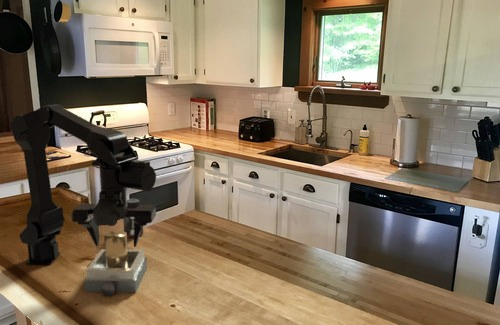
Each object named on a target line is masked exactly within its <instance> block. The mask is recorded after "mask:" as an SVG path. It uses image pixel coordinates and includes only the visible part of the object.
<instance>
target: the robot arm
mask: <svg viewBox="0 0 500 325" xmlns="http://www.w3.org/2000/svg"><path fill="white" fill-rule="evenodd" d="M53 127H56V128H58V129H60V130H62V131H63V132H65V133H67V134H69V135H70V136H73V137H75V138H76V139H78V140H80V141H82V142H83V143H85V144H86V146H87V148H88V150H89V151H90V152H91V153H92V154H94V155H95V156H96V159H94V160H93V161H92V162H91V166H93V167H98V168H99V183H100V184H99V185H100V191H99V192H98V200H97V201H98V202H97V203H80V204H79V205H77V206H76V207H75V208H74V209H73V210H72V211H71V213H70V214H71V215H70V216H71V222H73V223H77V224H78V225H79V226H83V227H84V228H85V229H86V230H87V232H88V233H89V235H90V237H91V239H92V241H93V243H94V245H95V247H99V245H100V228H99V227H100V226H108V227H114V226H115V225H117V223H118V221H120V220H124V219H125V217H134V220H135V223H134V224H133V225H134V237H133V247H135V248H136V247H137V245H138V242H139V239H140V233H141V230H142V228H143V229H144V227H145V226H147V225H148V224H151V223H153V221H154V219H155V217H156V215H157V208H156V206H155V204H139V206H138V207H137V209H127V206H128V202H127V200H128V199H127V190H128V189H130V190H131V189H132V190H138V191H145V192H149V191H151V190H152V189H153V188H154V186H155V184H156V181H157V174H156V171H155V169H154V167H152V166H151V162H150V160H139V156H138V155H137V154H136V152H135V150H134V148H133V147H132V145H131V144H130V142H129V141H128V137H127V135H126V134H125V133H124V132H122V131H120V130H117V129H113V128H110V127H101V126H98V125H96V124H94V123H93V122H90V121H88V120H87V119H86V118H83V117H81V116H79V115H78V114H75V113H73V112H72V111H70V110H69V109H66V108H64V106H63V105H61V104H46V105H43V106H40V107H39V108H37V109H35V110H33V111H30V112H28V113H25V114H21V115H20V114H18V115H16V116H14V118H13V119H12V120H11V122H10V129H11V131H12V135H13V139H14V142H16V143H17V145H18V147H20V148H21V149H22V150H23V156H24V161H25V162H24V163H25V170H26V176H27V183H28V188H29V189H28V190H29V196H30V201H31V205H30V207H29V211H28V213H27V214H26V227H24V229H23V231H21V233H19V238H20V242H21V243H22V244H25V245H27V253H28V259H27V260H26V262H25V264H26V265H38V266H39V265H41V266H42V265H45V266H46V265H48V266H49V265H51V264H52V263H53V262H54V261H55V260H56V259H57V258H58V257H60V255H61V252H60V250H59V243H58V242H59V241H57V238H56V236H59V235H61V232H62V228H63V227H64V222H65V221H66V218H64V208H62V206H58V205H57V204H56V203H55V202H54V200H53V194H52V193H53V192H52V187H51V181H50V179H51V178H50V173H49V166H48V158H47V152H46V147H47V145H48V142H49V140H50V137H51V128H53Z"/></svg>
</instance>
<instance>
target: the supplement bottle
mask: <svg viewBox="0 0 500 325" xmlns="http://www.w3.org/2000/svg"><path fill="white" fill-rule="evenodd" d="M127 202H128V206H127V209H137V207H138V206H139V205H141V202H140V199H138V198H129V199H127ZM134 223H135V220H134V217H125V219H123V231H124V232H126V233H127V238H134V225H133V224H134ZM143 234H144V227H143V228H142V230H141V233H140V236H142V235H143ZM140 236H139V237H140Z"/></svg>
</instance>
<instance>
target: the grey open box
mask: <svg viewBox="0 0 500 325" xmlns="http://www.w3.org/2000/svg"><path fill="white" fill-rule="evenodd" d="M127 251H128V268H106V255H105V248H104V249H103V248H102V249H101V250H100V251H99V252H98V253H97V255H96V256H95V258H94V259H93V260H92V262H90V264H89V265H88V267H87V268H86V270H85V271H86V274H85V275H86V276H85V278H84V279H83V287H84V293H101V294H102V295H103V296H104V297H112V296H113V295H114V293H130V294H131V293H133V294H135V293H137V291H138V289H139V286H140V285H141V282H142V280H143V278H144V276H145V274H146V272H147V269H148V260H147V259H148V258H147V257H145V249H127Z"/></svg>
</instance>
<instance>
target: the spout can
mask: <svg viewBox="0 0 500 325" xmlns="http://www.w3.org/2000/svg"><path fill="white" fill-rule="evenodd" d="M104 249H105V255H106V268H128V251H127V250H128V237H127V233H126V232H124V230H112V231H108V232H107V233H105V234H104Z"/></svg>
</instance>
